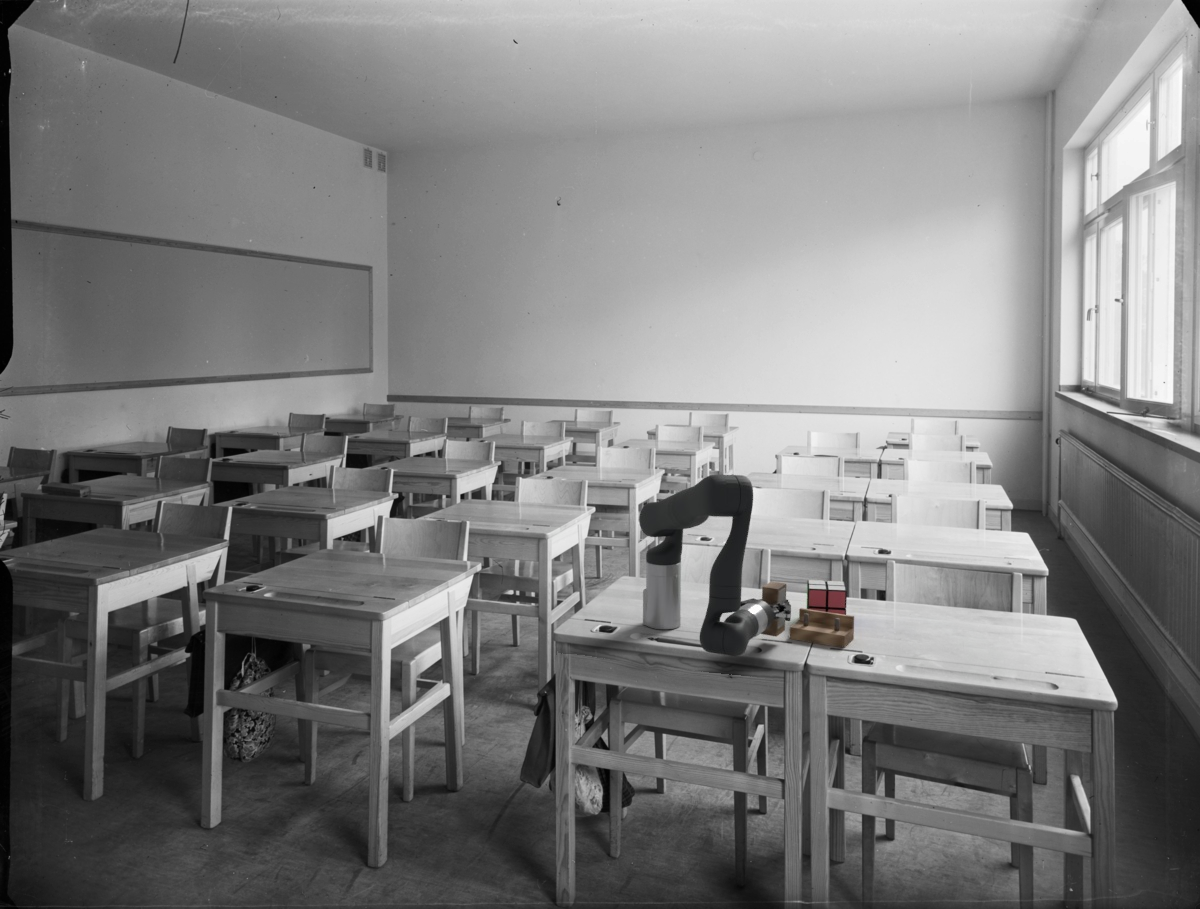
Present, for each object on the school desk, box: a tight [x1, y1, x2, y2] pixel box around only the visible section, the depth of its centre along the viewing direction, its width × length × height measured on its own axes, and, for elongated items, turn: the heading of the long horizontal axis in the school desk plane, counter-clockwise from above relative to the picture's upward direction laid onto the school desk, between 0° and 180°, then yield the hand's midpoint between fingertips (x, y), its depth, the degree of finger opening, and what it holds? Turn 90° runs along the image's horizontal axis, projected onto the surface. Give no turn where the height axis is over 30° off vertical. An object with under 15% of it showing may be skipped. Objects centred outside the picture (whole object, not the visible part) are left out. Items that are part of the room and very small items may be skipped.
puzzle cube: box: [806, 579, 848, 615], centre depth 248 cm, size 10×10×10 cm
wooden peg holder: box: [789, 607, 855, 649], centre depth 233 cm, size 14×8×6 cm, turn 59°
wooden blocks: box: [760, 581, 787, 638], centre depth 229 cm, size 4×6×12 cm, turn 149°
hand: (777, 601), depth 231 cm, fingers closed on wooden blocks, 4 cm apart
